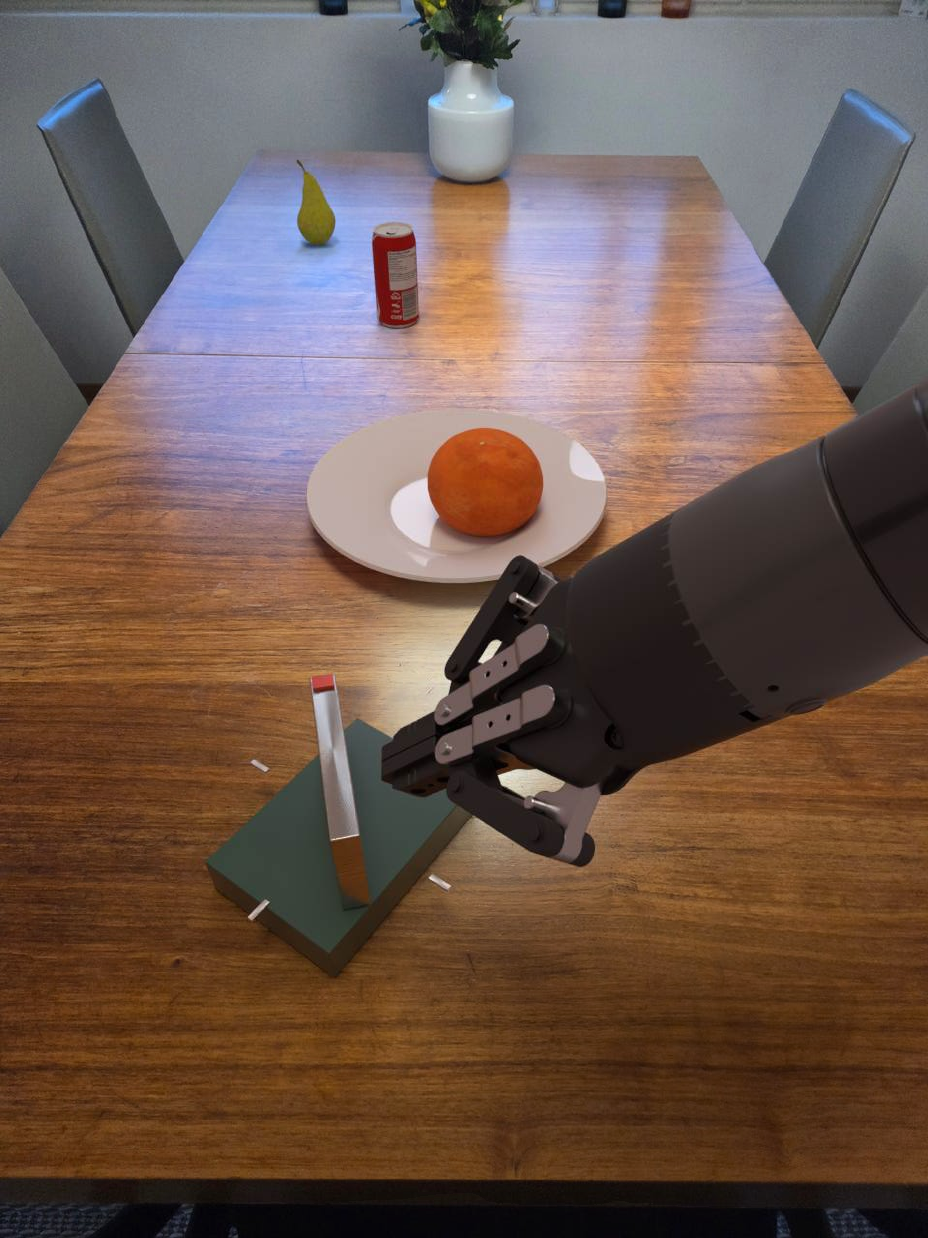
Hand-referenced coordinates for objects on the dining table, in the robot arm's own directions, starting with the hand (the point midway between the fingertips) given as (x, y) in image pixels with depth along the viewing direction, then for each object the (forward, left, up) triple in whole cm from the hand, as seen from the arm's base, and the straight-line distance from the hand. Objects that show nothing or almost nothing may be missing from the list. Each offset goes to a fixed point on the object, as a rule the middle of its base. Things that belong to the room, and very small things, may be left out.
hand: (396, 771), depth 38 cm
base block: (+4, +8, -18) cm, 20 cm away
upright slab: (+4, +8, -15) cm, 18 cm away
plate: (+38, +24, -19) cm, 49 cm away
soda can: (+69, +56, -19) cm, 91 cm away
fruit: (+84, +84, -19) cm, 120 cm away
